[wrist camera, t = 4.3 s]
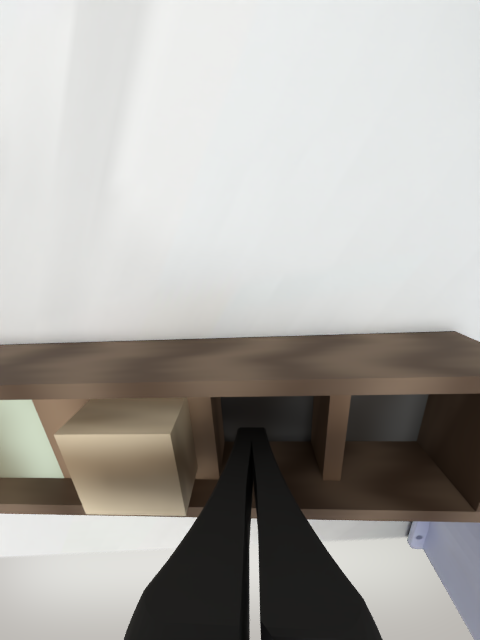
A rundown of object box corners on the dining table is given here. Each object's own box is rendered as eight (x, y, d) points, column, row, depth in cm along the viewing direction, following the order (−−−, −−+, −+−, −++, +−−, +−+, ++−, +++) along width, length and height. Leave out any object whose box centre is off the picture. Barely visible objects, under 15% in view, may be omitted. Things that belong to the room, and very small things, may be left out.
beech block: (197, 466, 13) (186, 516, 11) (115, 466, 13) (86, 514, 11) (186, 395, 11) (170, 434, 9) (92, 396, 12) (53, 434, 9)
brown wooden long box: (454, 331, 13) (555, 374, 9) (423, 446, 16) (488, 522, 11) (-65, 346, 15) (-193, 388, 11) (-12, 446, 18) (-96, 511, 13)
